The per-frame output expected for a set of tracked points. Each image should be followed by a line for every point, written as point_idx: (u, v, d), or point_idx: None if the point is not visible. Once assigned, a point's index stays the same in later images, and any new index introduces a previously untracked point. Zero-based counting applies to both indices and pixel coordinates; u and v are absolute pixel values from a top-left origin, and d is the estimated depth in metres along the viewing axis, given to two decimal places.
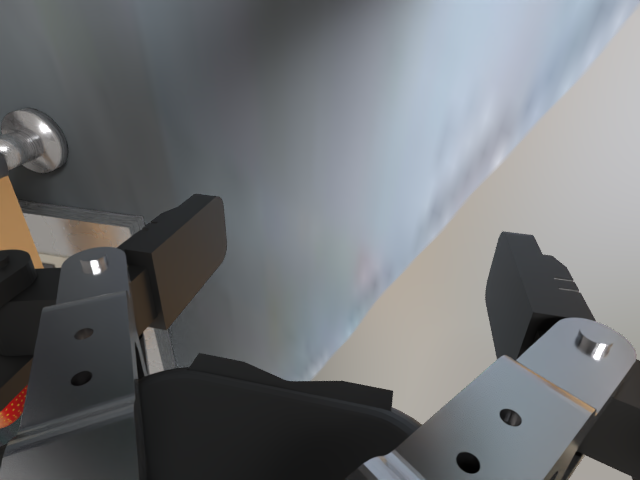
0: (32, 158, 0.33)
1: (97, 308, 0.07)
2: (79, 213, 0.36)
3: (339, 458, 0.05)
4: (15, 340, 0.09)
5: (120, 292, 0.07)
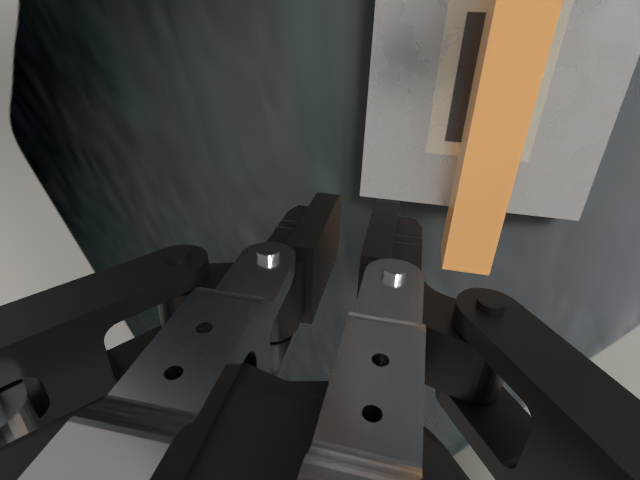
0: None
1: (229, 307, 0.07)
2: None
3: None
4: None
5: (257, 298, 0.07)
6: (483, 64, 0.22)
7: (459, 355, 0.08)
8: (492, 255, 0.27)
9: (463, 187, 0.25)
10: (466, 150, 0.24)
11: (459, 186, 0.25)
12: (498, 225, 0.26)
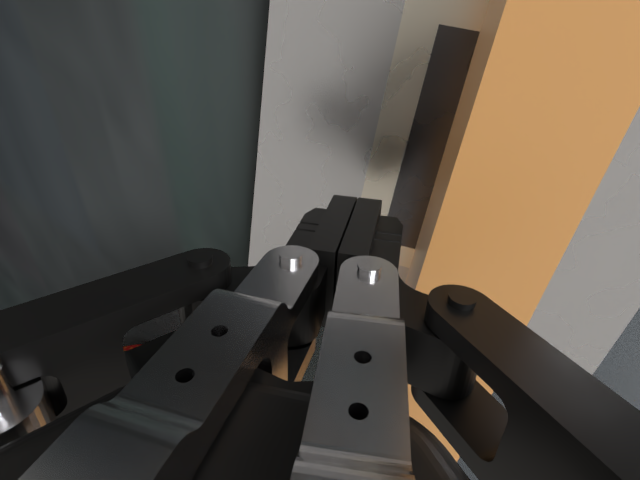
0: None
1: (246, 310, 0.07)
2: None
3: None
4: None
5: (275, 303, 0.07)
6: (457, 157, 0.09)
7: (430, 351, 0.08)
8: None
9: None
10: None
11: None
12: None
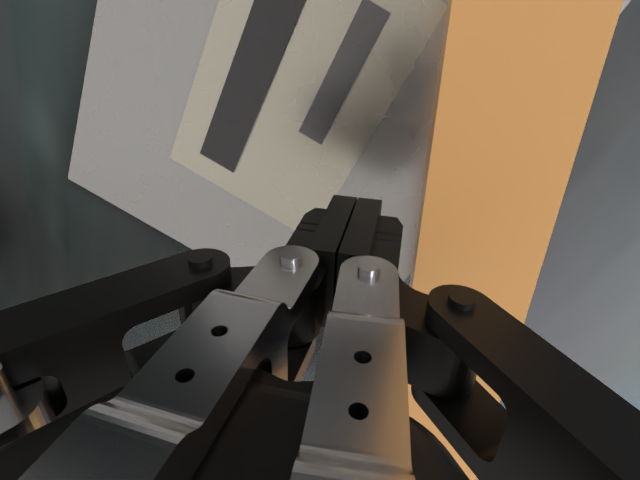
0: None
1: (246, 310, 0.07)
2: None
3: None
4: None
5: (275, 303, 0.07)
6: (433, 145, 0.10)
7: (431, 350, 0.08)
8: None
9: None
10: None
11: None
12: None
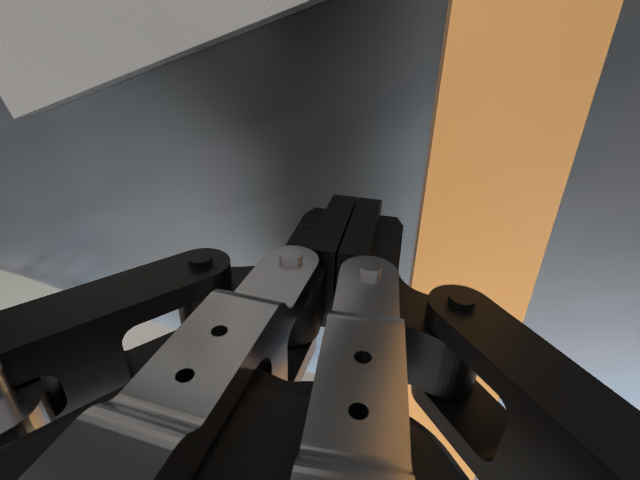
0: None
1: (246, 310, 0.07)
2: None
3: None
4: None
5: (275, 303, 0.07)
6: (433, 138, 0.10)
7: (431, 351, 0.08)
8: None
9: None
10: None
11: None
12: None
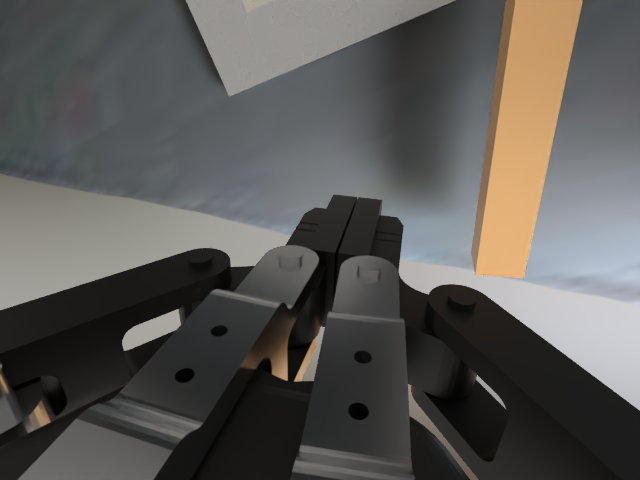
0: None
1: (246, 310, 0.07)
2: None
3: None
4: None
5: (275, 303, 0.07)
6: (505, 72, 0.22)
7: (431, 350, 0.08)
8: (525, 258, 0.27)
9: (492, 193, 0.25)
10: (493, 156, 0.24)
11: (488, 192, 0.25)
12: (530, 228, 0.26)
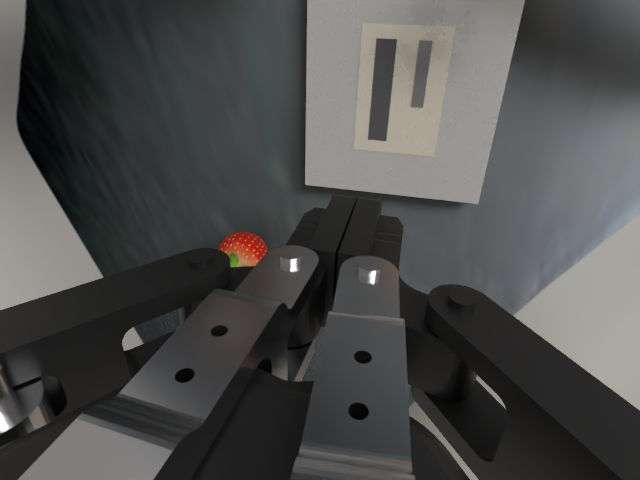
0: None
1: (246, 310, 0.07)
2: None
3: None
4: None
5: (275, 303, 0.07)
6: None
7: (431, 351, 0.08)
8: None
9: None
10: None
11: None
12: None
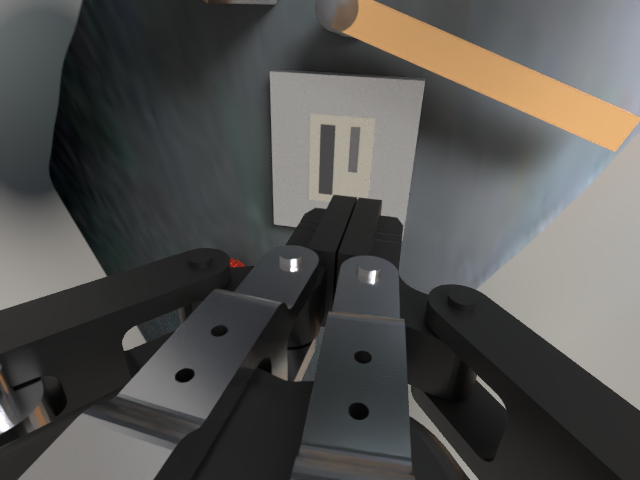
0: None
1: (246, 310, 0.07)
2: (370, 75, 0.43)
3: None
4: None
5: (275, 303, 0.07)
6: (476, 90, 0.35)
7: (431, 351, 0.08)
8: (623, 112, 0.33)
9: (552, 120, 0.35)
10: (526, 112, 0.35)
11: (550, 122, 0.35)
12: (597, 102, 0.33)
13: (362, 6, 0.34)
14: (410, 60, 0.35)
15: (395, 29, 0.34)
